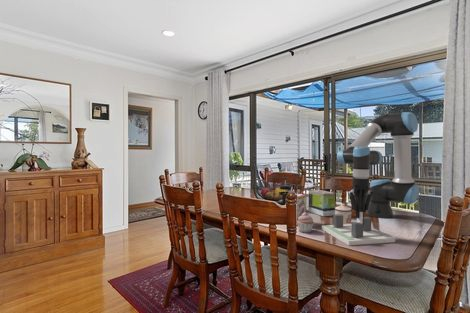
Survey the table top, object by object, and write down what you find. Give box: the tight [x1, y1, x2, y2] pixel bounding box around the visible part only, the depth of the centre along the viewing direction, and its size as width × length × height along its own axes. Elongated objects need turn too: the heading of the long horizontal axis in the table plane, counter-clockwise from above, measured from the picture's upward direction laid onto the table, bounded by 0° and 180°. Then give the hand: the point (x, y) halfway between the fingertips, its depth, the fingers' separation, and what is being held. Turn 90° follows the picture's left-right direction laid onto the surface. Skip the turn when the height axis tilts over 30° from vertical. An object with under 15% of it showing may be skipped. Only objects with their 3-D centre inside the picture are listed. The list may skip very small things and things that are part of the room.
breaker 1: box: [332, 214, 343, 227], centre depth 141 cm, size 4×3×6 cm
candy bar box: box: [296, 193, 308, 220], centre depth 155 cm, size 11×5×16 cm, turn 135°
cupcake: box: [296, 211, 315, 234], centre depth 141 cm, size 9×9×10 cm
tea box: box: [308, 189, 336, 217], centre depth 179 cm, size 15×10×15 cm, turn 23°
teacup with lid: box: [335, 203, 353, 224], centre depth 155 cm, size 12×9×12 cm
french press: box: [278, 176, 293, 205], centre depth 188 cm, size 12×9×23 cm
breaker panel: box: [321, 223, 396, 246], centre depth 135 cm, size 24×24×2 cm
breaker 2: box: [351, 221, 363, 237], centre depth 126 cm, size 4×3×6 cm
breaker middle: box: [363, 216, 372, 231], centre depth 136 cm, size 4×3×6 cm
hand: (359, 224), depth 135 cm, fingers closed
